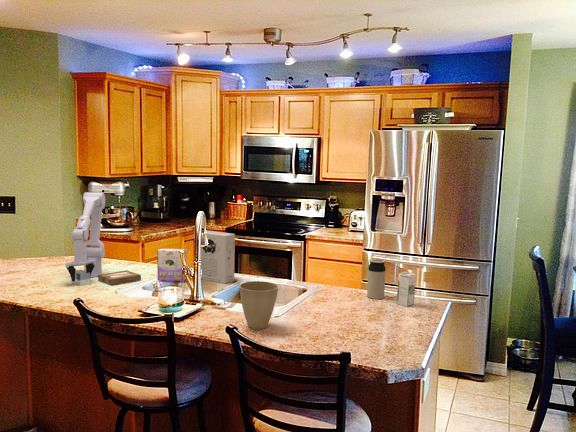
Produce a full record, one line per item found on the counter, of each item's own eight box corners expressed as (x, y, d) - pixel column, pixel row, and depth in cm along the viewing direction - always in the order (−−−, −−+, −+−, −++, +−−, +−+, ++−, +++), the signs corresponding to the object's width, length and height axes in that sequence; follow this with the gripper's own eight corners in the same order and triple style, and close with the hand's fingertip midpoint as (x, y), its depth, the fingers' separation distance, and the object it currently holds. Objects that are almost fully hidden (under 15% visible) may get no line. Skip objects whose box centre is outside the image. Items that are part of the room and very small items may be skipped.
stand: (98, 280, 260) (98, 274, 259) (126, 275, 271) (126, 270, 271) (112, 285, 250) (111, 279, 250) (140, 280, 262) (140, 274, 262)
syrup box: (403, 301, 236) (405, 271, 234) (414, 304, 232) (416, 273, 230) (396, 304, 232) (398, 272, 230) (407, 307, 228) (409, 275, 226)
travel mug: (387, 297, 243) (389, 260, 241) (378, 300, 237) (379, 262, 235) (373, 294, 248) (374, 257, 246) (363, 297, 242) (365, 259, 240)
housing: (71, 282, 254) (71, 271, 254) (81, 281, 258) (81, 269, 257) (80, 286, 248) (80, 274, 248) (90, 284, 252) (90, 272, 251)
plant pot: (246, 334, 187) (246, 292, 185) (233, 322, 200) (234, 282, 199) (283, 330, 193) (284, 288, 191) (269, 318, 206) (269, 279, 205)
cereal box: (234, 281, 267) (235, 233, 264) (225, 283, 260) (225, 235, 258) (203, 275, 278) (203, 229, 275) (193, 277, 272) (193, 231, 269)
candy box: (186, 279, 266) (186, 248, 265) (183, 282, 261) (183, 250, 259) (160, 278, 268) (160, 247, 266) (157, 281, 262) (156, 249, 260)
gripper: (69, 255, 243) (70, 283, 245) (98, 252, 254) (98, 279, 256) (63, 253, 248) (63, 281, 250) (91, 250, 259) (92, 276, 260)
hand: (80, 279), depth 253 cm, fingers open, 7 cm apart
